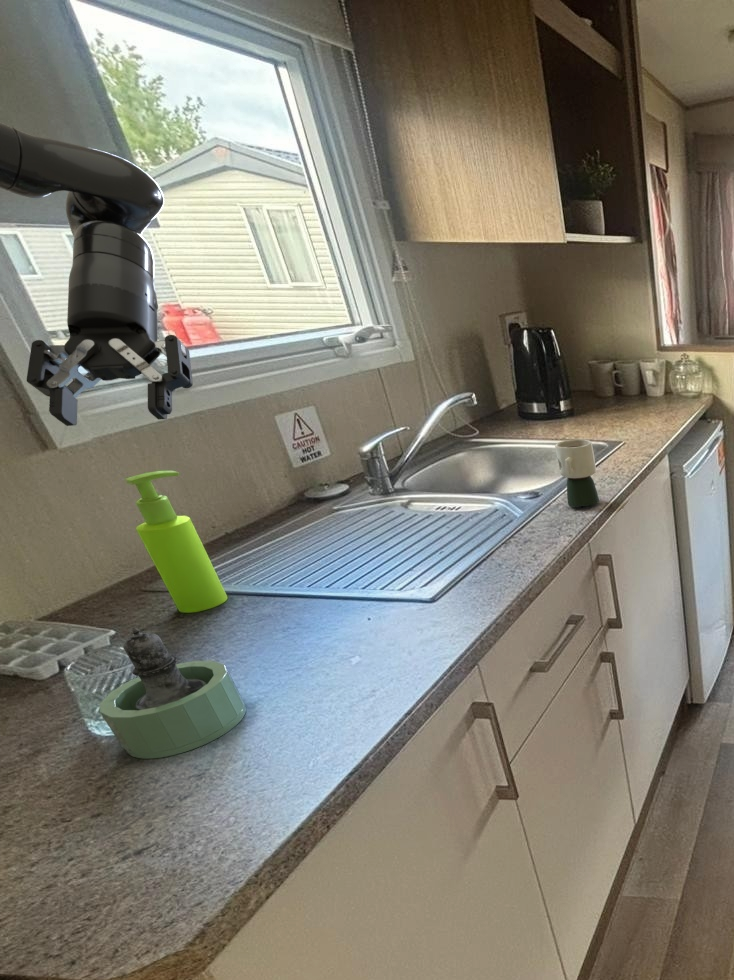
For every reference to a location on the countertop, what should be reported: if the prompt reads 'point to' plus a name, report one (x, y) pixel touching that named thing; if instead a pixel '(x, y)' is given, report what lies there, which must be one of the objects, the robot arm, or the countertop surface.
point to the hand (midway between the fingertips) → (112, 418)
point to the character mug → (578, 471)
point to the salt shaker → (157, 671)
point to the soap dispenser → (176, 549)
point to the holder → (175, 713)
